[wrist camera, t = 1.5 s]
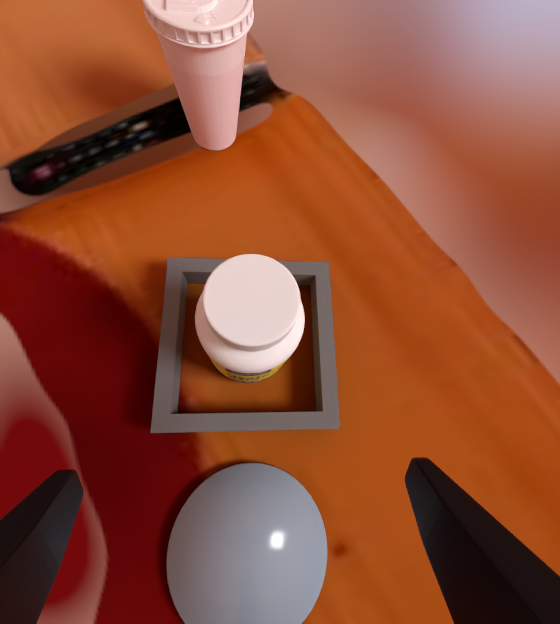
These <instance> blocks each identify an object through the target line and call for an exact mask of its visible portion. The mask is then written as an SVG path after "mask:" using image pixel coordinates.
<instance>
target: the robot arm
mask: <svg viewBox="0 0 560 624" xmlns="http://www.w3.org/2000/svg"><path fill="white" fill-rule="evenodd" d="M405 484H406V488H407V491H408V494H409V498H410V501H411V505H412V508H413V512H414V515H415V518H416V522H417V525H418V529H419V532H420V535H421V539H422V542H423V545H424V548H425V550H426V553H427V556H428V558H429V561H430V563H431V566H432V568H433V571H434V573H435V576H436V578H437V581H438V584H439V586H440V589H441V591H442V594H443V596H444V599H445V601H446V604H447V606H448V609H449V612H450V614H451V617H452V619H453V622H454V624H560V576H559V575H558V574H556V573H555V572H554V571H553V570H552V569H551V568H550V567H549V566H548V565H546V564H545V563H544V562H543V561H542V560H541V559H540V558H539V557H537V556H536V555H535V554H534V553H533V552H532V551H531V550H530V549H529V548H527V547H526V546H525V545H524V544H523V543H522V542H521V541H520V540H519V539H517V538H516V537H515V536H514V535H513V534H512V533H511V532H510V531H509V530H507V529H506V528H505V527H504V526H503V525H502V524H501V523H500V522H499V521H497V520H496V519H495V518H494V517H493V516H492V515H491V514H490V513H489V512H487V511H486V510H485V509H484V508H483V507H482V506H481V505H480V504H479V503H477V502H476V501H475V500H474V499H473V498H472V497H471V496H470V495H469V494H467V493H466V492H465V491H464V490H463V489H462V488H461V487H460V486H459V485H457V484H456V483H455V482H454V481H453V480H452V479H451V478H450V477H449V476H447V475H446V474H445V473H444V472H443V471H442V470H441V469H440V468H439V467H437V466H436V465H435V464H434V463H433V462H432V461H431V460H429V459H428V458H425V457H421V458H413V459H412V460H411V462H410V464H409V467H408V470H407V472H406V475H405ZM82 496H83V488H82V485H81V483H80V480H79V477H78V475H77V472H76V471H75V470H58V471H56V472H54V473H53V474H52V475H51V476H50V477H48V478H47V479H46V480H45V481H44V482H43V483H42V484H40V485H39V486H38V487H37V488H36V489H35V490H34V491H33V492H32V493H30V494H29V495H28V496H27V497H26V498H25V499H23V500H22V501H21V502H20V503H19V504H18V505H17V506H16V507H14V508H13V509H12V510H11V511H10V512H9V513H8V514H6V515H5V516H4V517H3V518H2V519H1V520H0V624H36V623H37V620H38V618H39V616H40V614H41V611H42V609H43V606H44V604H45V602H46V599H47V597H48V595H49V592H50V590H51V588H52V585H53V583H54V581H55V578H56V576H57V573H58V571H59V568H60V565H61V562H62V560H63V556H64V553H65V550H66V547H67V544H68V541H69V538H70V534H71V532H72V529H73V525H74V522H75V519H76V516H77V513H78V510H79V506H80V503H81V500H82Z"/></svg>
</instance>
